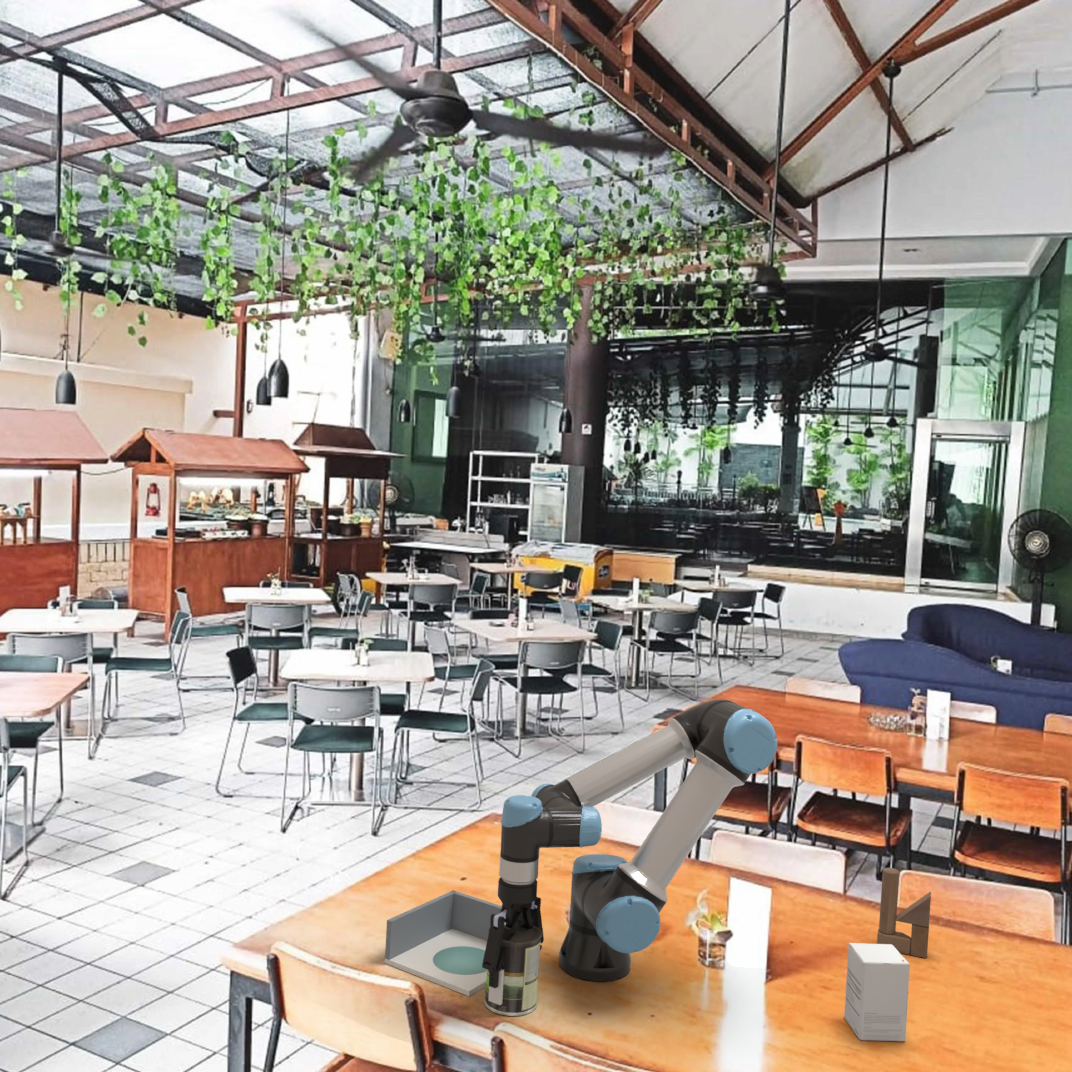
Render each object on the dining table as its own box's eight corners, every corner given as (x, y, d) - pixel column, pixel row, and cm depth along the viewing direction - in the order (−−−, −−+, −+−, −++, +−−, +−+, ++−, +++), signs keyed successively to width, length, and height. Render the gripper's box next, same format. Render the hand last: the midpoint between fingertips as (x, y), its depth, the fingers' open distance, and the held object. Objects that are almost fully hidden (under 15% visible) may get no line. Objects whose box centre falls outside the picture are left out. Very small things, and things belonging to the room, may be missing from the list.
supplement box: (888, 1018, 199) (893, 943, 199) (906, 1042, 190) (911, 963, 190) (842, 1016, 199) (847, 941, 198) (858, 1040, 190) (863, 961, 189)
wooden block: (926, 959, 227) (932, 879, 227) (876, 949, 231) (881, 870, 231) (927, 952, 231) (932, 874, 230) (877, 942, 235) (882, 866, 234)
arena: (531, 958, 217) (534, 916, 216) (468, 996, 198) (471, 950, 198) (451, 929, 229) (453, 890, 229) (384, 963, 210) (387, 920, 210)
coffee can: (496, 1020, 189) (501, 946, 189) (476, 995, 199) (480, 924, 198) (546, 1011, 194) (550, 938, 194) (524, 987, 203) (528, 918, 203)
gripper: (534, 858, 207) (528, 966, 208) (466, 889, 188) (460, 1007, 189) (565, 867, 203) (559, 977, 204) (499, 900, 184) (492, 1021, 185)
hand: (511, 991), depth 196 cm, fingers closed on coffee can, 10 cm apart
